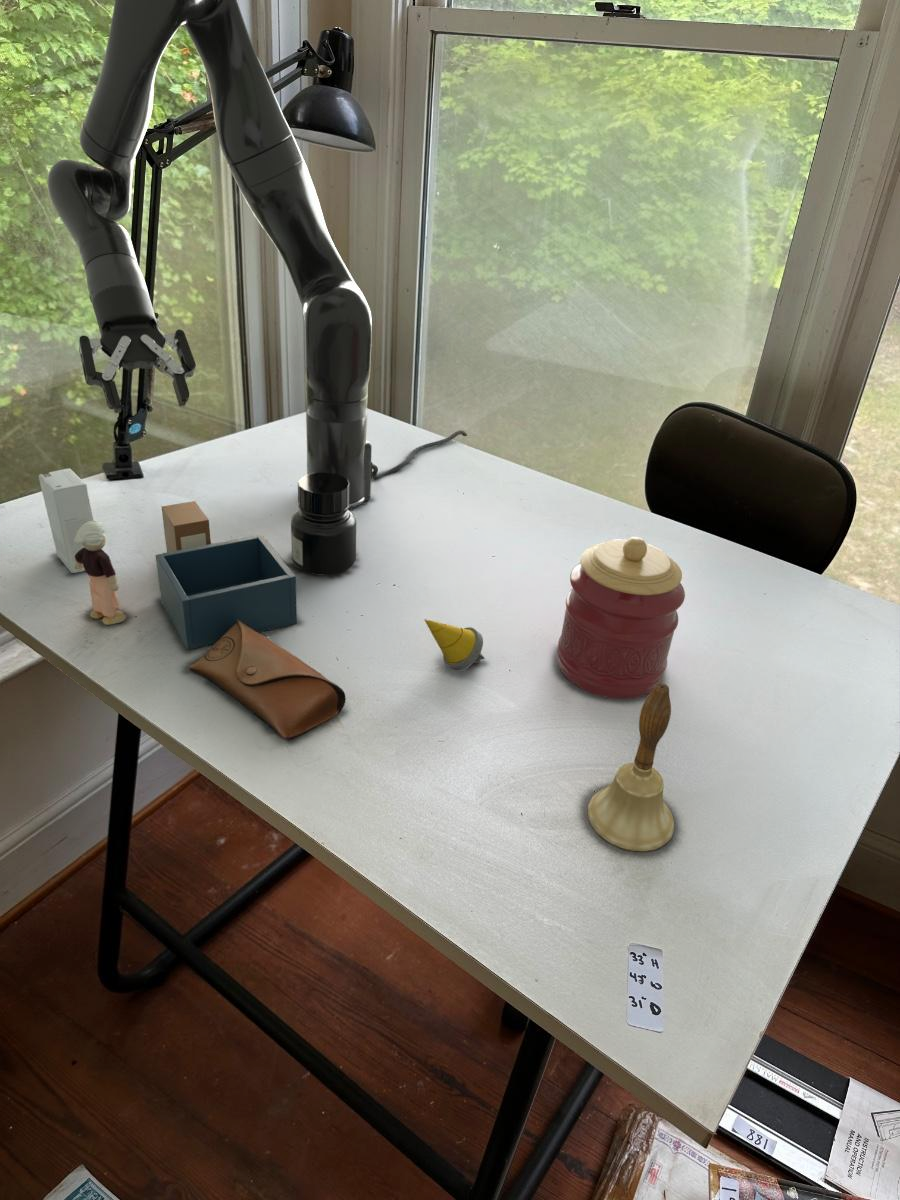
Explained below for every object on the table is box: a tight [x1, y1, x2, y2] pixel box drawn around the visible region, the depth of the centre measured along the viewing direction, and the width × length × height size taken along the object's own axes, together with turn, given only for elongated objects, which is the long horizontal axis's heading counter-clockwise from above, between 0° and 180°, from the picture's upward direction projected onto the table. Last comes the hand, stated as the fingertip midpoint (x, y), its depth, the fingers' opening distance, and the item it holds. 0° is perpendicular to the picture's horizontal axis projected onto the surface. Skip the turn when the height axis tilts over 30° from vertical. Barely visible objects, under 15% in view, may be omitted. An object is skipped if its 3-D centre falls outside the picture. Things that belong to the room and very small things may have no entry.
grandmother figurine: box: [74, 520, 127, 626], centre depth 101 cm, size 8×4×13 cm, turn 65°
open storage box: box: [155, 534, 298, 651], centre depth 105 cm, size 14×12×7 cm
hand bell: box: [587, 682, 675, 852], centre depth 77 cm, size 8×8×16 cm
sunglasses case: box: [188, 620, 347, 739], centre depth 94 cm, size 18×7×7 cm
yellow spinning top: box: [424, 618, 486, 672], centre depth 99 cm, size 5×5×10 cm
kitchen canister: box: [556, 536, 686, 700], centre depth 98 cm, size 13×13×18 cm
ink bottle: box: [290, 472, 358, 576], centre depth 116 cm, size 10×9×12 cm
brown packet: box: [161, 500, 212, 553], centre depth 113 cm, size 4×6×8 cm
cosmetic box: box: [38, 467, 94, 574], centre depth 111 cm, size 6×4×12 cm
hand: (151, 407), depth 114 cm, fingers open, 8 cm apart
